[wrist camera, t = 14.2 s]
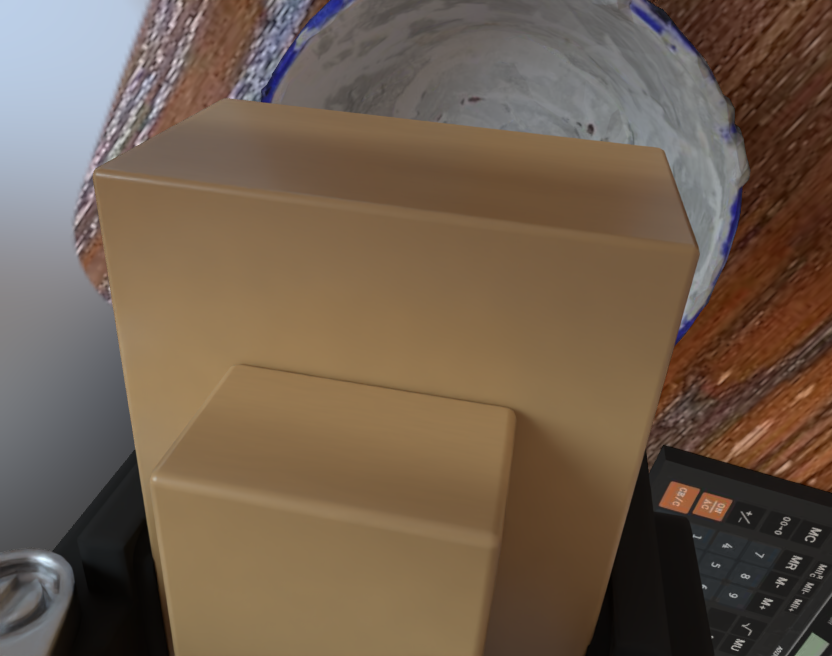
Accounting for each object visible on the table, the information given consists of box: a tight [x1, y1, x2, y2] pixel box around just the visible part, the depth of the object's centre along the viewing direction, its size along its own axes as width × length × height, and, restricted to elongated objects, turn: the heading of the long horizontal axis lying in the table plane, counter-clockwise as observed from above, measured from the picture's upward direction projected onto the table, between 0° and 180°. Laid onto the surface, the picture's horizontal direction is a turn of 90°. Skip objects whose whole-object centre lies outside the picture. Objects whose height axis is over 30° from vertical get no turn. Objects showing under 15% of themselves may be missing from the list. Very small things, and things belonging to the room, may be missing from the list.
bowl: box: [261, 0, 750, 345], centre depth 22 cm, size 13×13×5 cm
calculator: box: [649, 445, 832, 656], centre depth 28 cm, size 9×12×3 cm
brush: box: [93, 98, 700, 656], centre depth 9 cm, size 11×4×6 cm, turn 177°
